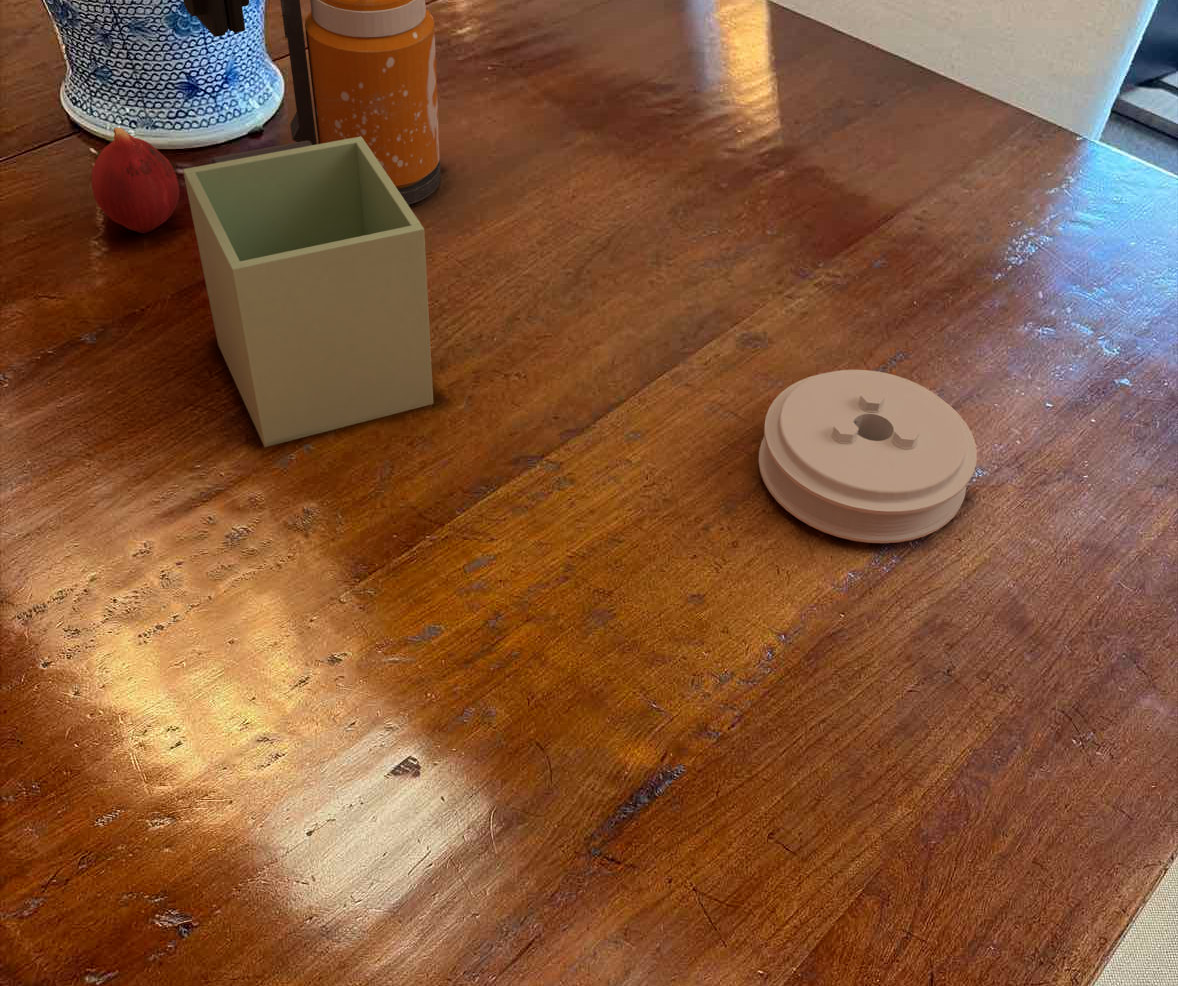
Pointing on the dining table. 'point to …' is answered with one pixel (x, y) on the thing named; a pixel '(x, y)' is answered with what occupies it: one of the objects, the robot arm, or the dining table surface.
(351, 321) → the bin
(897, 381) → the lid
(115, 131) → the onion
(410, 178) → the canister
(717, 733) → the dining table surface
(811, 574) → the dining table surface
